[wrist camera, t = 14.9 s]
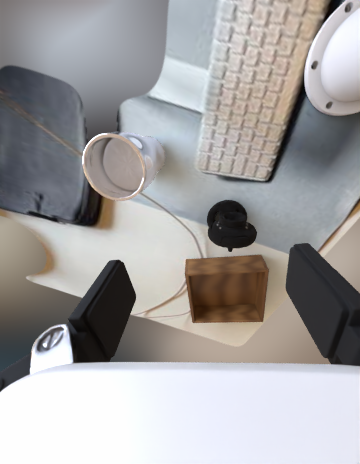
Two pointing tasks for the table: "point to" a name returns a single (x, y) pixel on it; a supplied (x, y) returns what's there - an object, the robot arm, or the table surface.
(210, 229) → the webcam
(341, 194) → the table surface
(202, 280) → the wooden box
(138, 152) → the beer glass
